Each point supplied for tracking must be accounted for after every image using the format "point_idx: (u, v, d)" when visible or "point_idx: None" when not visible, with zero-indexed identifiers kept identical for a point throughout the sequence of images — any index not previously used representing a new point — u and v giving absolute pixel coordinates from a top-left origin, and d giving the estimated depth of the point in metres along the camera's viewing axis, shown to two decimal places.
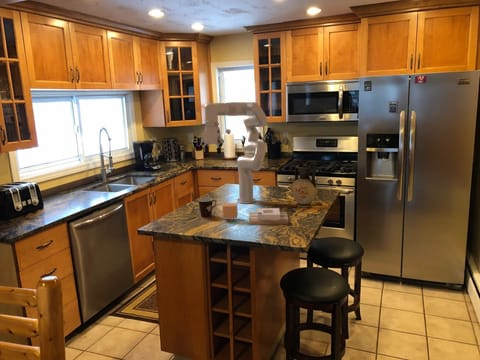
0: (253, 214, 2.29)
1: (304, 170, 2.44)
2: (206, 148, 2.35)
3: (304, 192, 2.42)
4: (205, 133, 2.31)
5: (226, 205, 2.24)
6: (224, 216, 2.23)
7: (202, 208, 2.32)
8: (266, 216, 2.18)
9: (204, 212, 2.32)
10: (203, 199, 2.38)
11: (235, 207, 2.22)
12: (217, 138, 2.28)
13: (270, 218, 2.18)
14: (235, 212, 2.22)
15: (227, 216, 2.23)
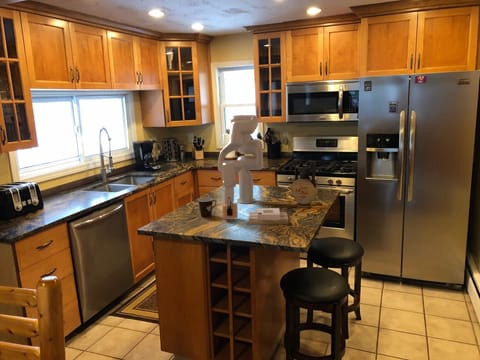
0: (253, 214, 2.29)
1: (304, 170, 2.44)
2: None
3: (304, 192, 2.42)
4: (233, 193, 2.20)
5: (226, 205, 2.24)
6: (224, 216, 2.23)
7: (202, 208, 2.32)
8: (266, 216, 2.18)
9: (204, 212, 2.32)
10: (203, 199, 2.38)
11: (235, 207, 2.22)
12: None
13: (270, 218, 2.18)
14: (235, 212, 2.22)
15: (227, 216, 2.23)
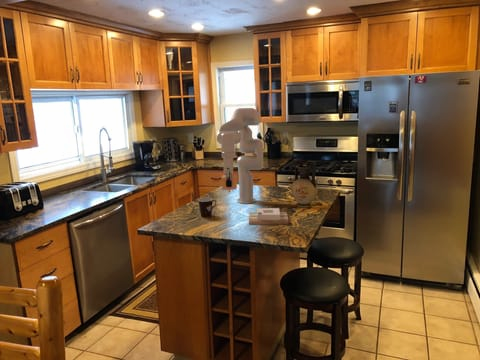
0: (253, 214, 2.29)
1: (304, 170, 2.44)
2: None
3: (304, 192, 2.42)
4: (232, 164, 2.17)
5: (225, 176, 2.21)
6: (223, 187, 2.20)
7: (202, 208, 2.32)
8: (266, 216, 2.18)
9: (204, 212, 2.32)
10: (203, 199, 2.38)
11: (234, 178, 2.18)
12: None
13: (270, 218, 2.18)
14: (234, 183, 2.19)
15: (226, 187, 2.20)
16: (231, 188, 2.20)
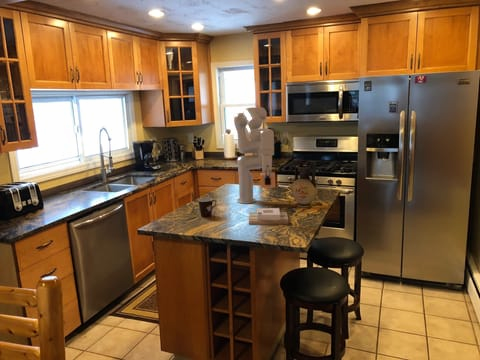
0: (253, 214, 2.29)
1: (304, 170, 2.44)
2: None
3: (304, 192, 2.42)
4: (271, 161, 2.14)
5: (264, 174, 2.18)
6: (262, 185, 2.17)
7: (202, 208, 2.32)
8: (266, 216, 2.18)
9: (204, 212, 2.32)
10: (203, 199, 2.38)
11: (273, 176, 2.16)
12: None
13: (270, 218, 2.18)
14: (273, 181, 2.16)
15: (265, 185, 2.17)
16: (270, 186, 2.17)
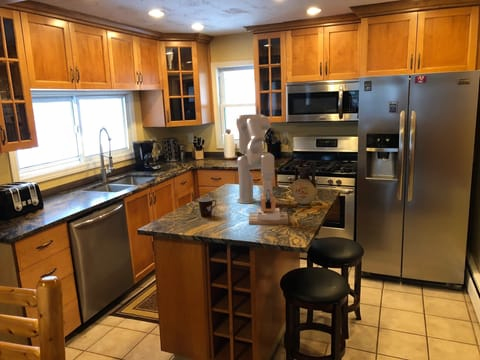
0: (253, 214, 2.29)
1: (304, 170, 2.44)
2: None
3: (304, 192, 2.42)
4: None
5: (264, 198, 2.21)
6: (262, 209, 2.20)
7: (202, 208, 2.32)
8: (266, 216, 2.18)
9: (204, 212, 2.32)
10: (203, 199, 2.38)
11: (274, 200, 2.18)
12: None
13: (270, 218, 2.18)
14: (274, 205, 2.19)
15: (265, 209, 2.20)
16: (270, 210, 2.20)
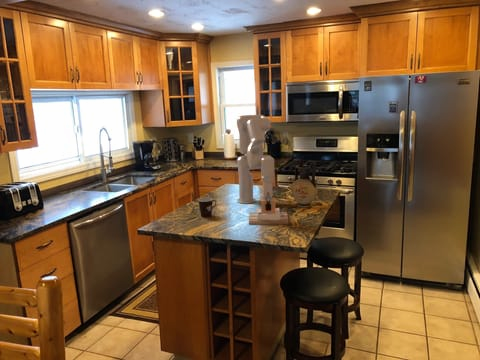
0: (253, 214, 2.29)
1: (304, 170, 2.44)
2: None
3: (304, 192, 2.42)
4: None
5: (264, 200, 2.21)
6: (262, 211, 2.20)
7: (202, 208, 2.32)
8: (266, 216, 2.18)
9: (204, 212, 2.32)
10: (203, 199, 2.38)
11: (274, 202, 2.19)
12: None
13: (270, 218, 2.18)
14: (274, 207, 2.19)
15: (265, 211, 2.20)
16: (270, 212, 2.20)
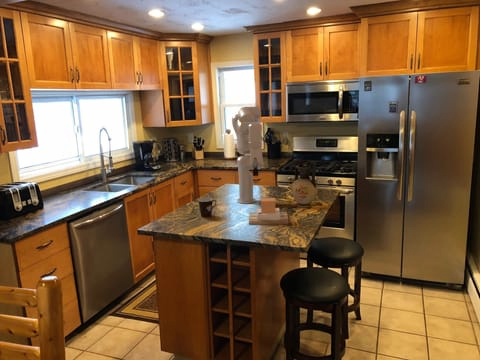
0: (253, 214, 2.29)
1: (304, 170, 2.44)
2: None
3: (304, 192, 2.42)
4: (259, 154, 2.22)
5: (264, 200, 2.21)
6: (262, 211, 2.20)
7: (202, 208, 2.32)
8: (266, 216, 2.18)
9: (204, 212, 2.32)
10: (203, 199, 2.38)
11: (274, 202, 2.19)
12: None
13: (270, 218, 2.18)
14: (274, 207, 2.19)
15: (265, 211, 2.20)
16: (270, 212, 2.20)
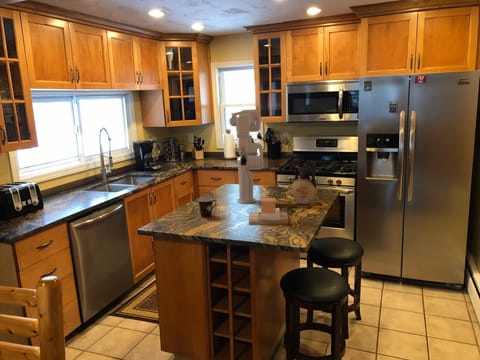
0: (253, 214, 2.29)
1: (304, 170, 2.44)
2: None
3: (304, 192, 2.42)
4: (247, 144, 2.30)
5: (264, 200, 2.21)
6: (262, 211, 2.20)
7: (202, 208, 2.32)
8: (266, 216, 2.18)
9: (204, 212, 2.32)
10: (203, 199, 2.38)
11: (274, 202, 2.19)
12: None
13: (270, 218, 2.18)
14: (274, 207, 2.19)
15: (265, 211, 2.20)
16: (270, 212, 2.20)
